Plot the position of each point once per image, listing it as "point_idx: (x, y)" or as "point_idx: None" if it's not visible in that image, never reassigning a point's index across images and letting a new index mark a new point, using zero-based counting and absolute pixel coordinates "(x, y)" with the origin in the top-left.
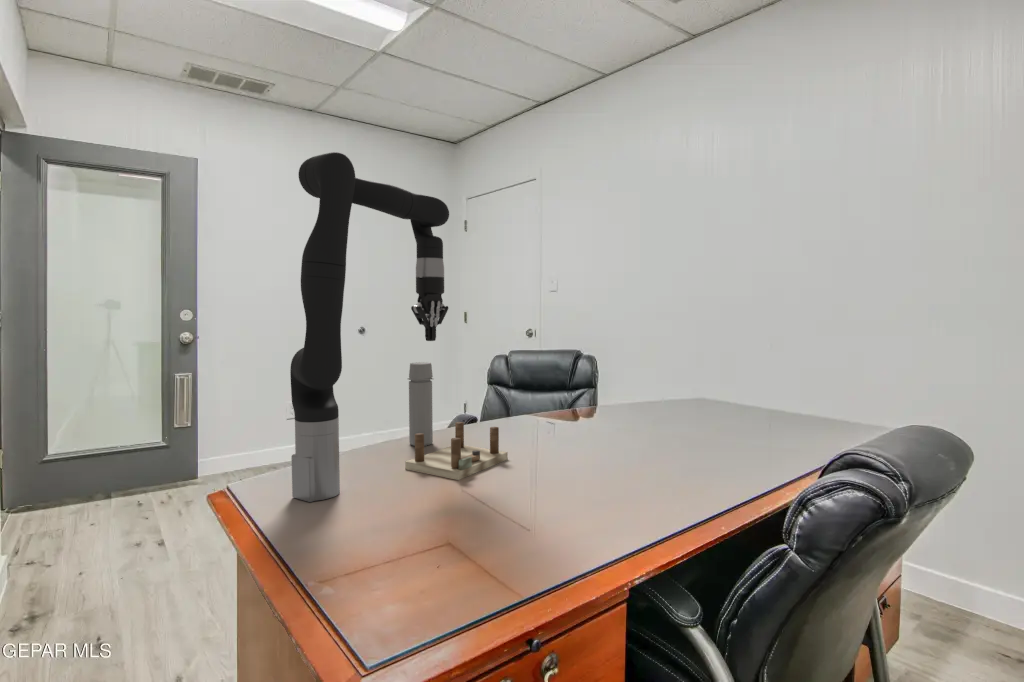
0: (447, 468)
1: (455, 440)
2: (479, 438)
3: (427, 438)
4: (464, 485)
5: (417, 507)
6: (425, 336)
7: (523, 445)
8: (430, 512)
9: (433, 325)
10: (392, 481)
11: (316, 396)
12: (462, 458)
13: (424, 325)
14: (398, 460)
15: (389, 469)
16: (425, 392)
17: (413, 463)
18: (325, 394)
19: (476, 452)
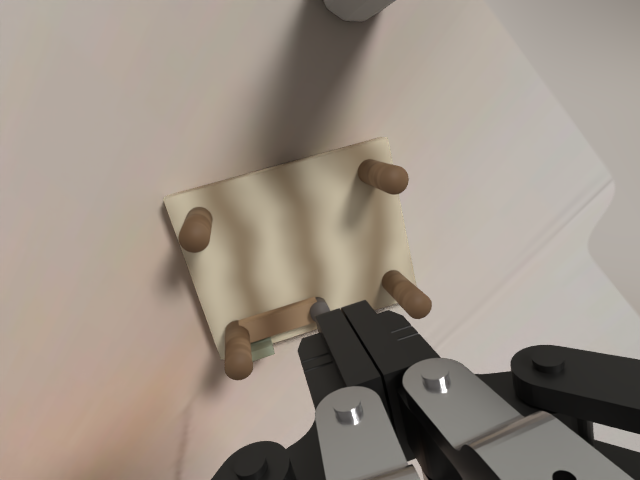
0: (217, 322)
1: (229, 377)
2: (518, 62)
3: (358, 17)
4: (210, 385)
5: (53, 440)
6: (299, 356)
7: (531, 214)
8: (62, 473)
9: (420, 463)
10: (86, 266)
11: None
12: (268, 321)
13: (298, 454)
14: (194, 103)
15: (128, 167)
16: None
17: (173, 227)
18: None
19: (315, 321)
